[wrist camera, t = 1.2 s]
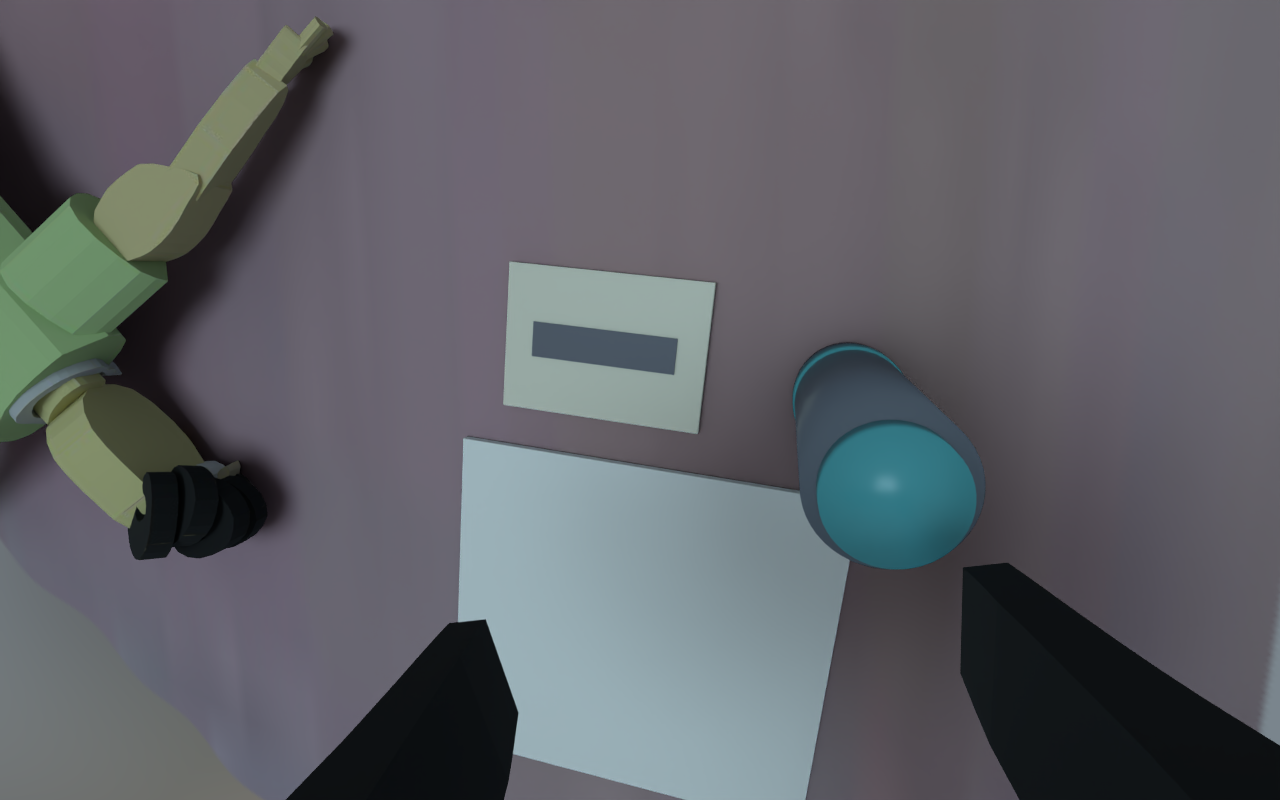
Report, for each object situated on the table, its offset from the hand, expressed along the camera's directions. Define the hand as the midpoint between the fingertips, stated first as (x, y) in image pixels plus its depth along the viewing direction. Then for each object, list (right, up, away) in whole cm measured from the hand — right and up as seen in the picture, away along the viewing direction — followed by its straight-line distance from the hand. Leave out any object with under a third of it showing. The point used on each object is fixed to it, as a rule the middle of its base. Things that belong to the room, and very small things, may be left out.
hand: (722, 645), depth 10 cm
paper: (-1, -5, +14) cm, 15 cm away
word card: (-2, +6, +12) cm, 13 cm away
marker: (+5, +4, +11) cm, 12 cm away
